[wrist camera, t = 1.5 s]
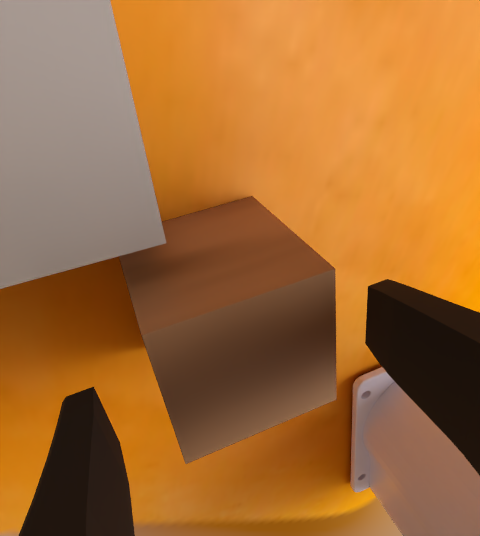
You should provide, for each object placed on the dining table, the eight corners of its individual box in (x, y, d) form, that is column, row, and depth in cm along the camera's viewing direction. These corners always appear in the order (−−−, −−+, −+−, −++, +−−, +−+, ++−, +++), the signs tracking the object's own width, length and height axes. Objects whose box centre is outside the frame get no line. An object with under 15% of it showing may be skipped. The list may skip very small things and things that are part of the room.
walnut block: (264, 304, 16) (336, 399, 12) (149, 345, 15) (185, 464, 11) (251, 195, 14) (334, 268, 10) (112, 234, 13) (141, 335, 9)
